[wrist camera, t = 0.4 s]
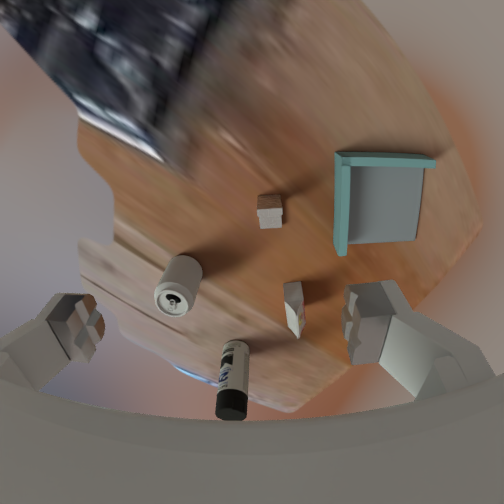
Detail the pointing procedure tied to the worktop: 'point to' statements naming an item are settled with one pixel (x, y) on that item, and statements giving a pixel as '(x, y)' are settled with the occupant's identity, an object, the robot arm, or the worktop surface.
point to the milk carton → (294, 307)
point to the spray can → (233, 382)
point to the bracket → (269, 211)
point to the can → (178, 286)
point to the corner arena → (377, 197)
